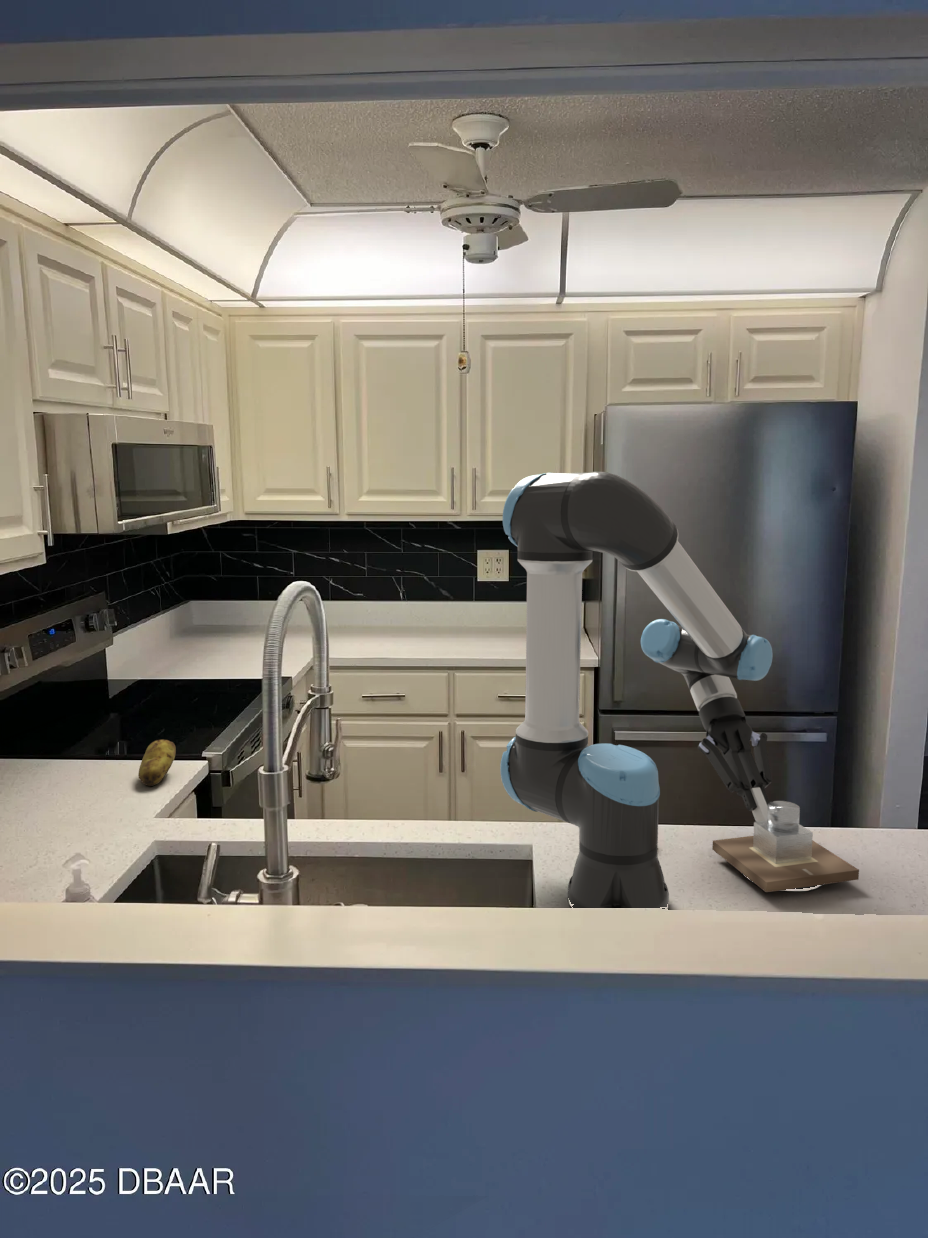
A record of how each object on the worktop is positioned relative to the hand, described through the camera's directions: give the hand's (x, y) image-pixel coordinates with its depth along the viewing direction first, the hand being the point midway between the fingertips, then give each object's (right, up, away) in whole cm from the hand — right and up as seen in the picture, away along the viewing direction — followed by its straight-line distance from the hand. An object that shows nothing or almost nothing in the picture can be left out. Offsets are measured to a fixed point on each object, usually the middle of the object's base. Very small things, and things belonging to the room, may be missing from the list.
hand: (767, 827), depth 143 cm
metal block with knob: (+1, -3, -4) cm, 5 cm away
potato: (-119, -1, +48) cm, 128 cm away
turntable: (+1, -5, -4) cm, 6 cm away
